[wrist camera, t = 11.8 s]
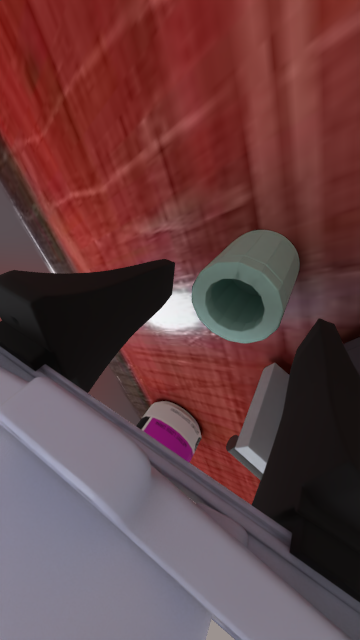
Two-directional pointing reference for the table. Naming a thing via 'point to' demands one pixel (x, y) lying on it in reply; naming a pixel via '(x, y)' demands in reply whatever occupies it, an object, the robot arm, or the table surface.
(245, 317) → the jar
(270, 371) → the drawer
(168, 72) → the table surface
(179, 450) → the supplement can
